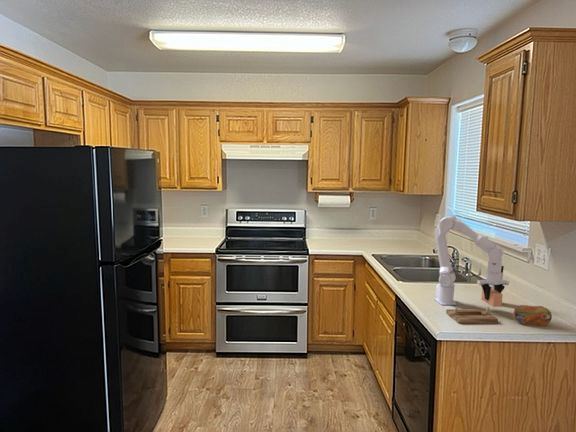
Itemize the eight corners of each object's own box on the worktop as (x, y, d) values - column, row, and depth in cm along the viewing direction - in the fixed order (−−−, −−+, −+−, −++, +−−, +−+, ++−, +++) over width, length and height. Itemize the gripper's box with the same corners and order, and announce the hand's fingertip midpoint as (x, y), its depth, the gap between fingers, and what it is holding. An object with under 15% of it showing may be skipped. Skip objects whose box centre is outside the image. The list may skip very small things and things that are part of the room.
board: (446, 313, 191) (446, 303, 191) (482, 313, 193) (483, 303, 192) (458, 323, 180) (459, 312, 179) (497, 323, 181) (498, 312, 180)
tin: (514, 323, 181) (516, 305, 180) (511, 321, 184) (513, 303, 183) (551, 326, 179) (553, 308, 178) (547, 324, 182) (549, 305, 181)
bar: (481, 299, 200) (482, 287, 199) (488, 299, 200) (490, 287, 199) (493, 306, 190) (494, 294, 189) (501, 306, 190) (502, 294, 189)
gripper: (484, 273, 188) (481, 302, 190) (513, 274, 190) (510, 302, 191) (475, 269, 195) (473, 297, 197) (504, 270, 197) (501, 297, 198)
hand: (491, 299), depth 195 cm, fingers closed on bar, 4 cm apart
